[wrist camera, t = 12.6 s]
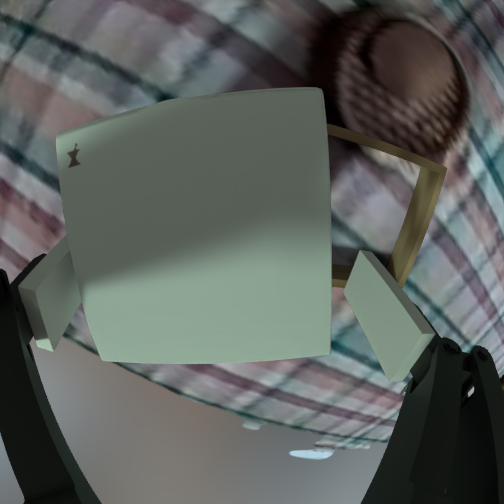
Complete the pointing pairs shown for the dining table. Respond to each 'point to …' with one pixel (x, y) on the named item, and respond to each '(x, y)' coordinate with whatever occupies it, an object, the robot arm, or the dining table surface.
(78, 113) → the dining table surface
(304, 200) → the supplement box
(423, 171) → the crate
